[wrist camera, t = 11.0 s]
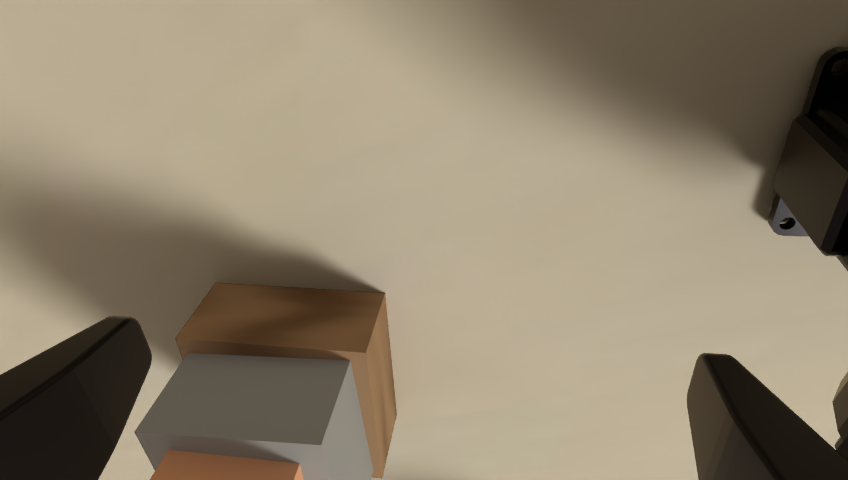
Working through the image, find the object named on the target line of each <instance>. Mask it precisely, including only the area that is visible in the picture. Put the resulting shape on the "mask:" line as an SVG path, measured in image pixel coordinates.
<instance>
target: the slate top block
mask: <svg viewBox="0 0 848 480" xmlns="http://www.w3.org/2000/svg"><path fill="white" fill-rule="evenodd" d="M135 434H136V436H137V438H138V440H139V441H140V443H141V445H142V447H143V449H144V451H145V453H146V455H147V456H148V458H149V460H150V462H151V464H152V466H153V468H154V469H155V470H156V469H157V467H158V465H159V464H160V462H161V460H162V459H163V457H164V455H165V454H166V452H167V450H177V451H187V452H196V453H205V454H215V455H224V456H233V457H243V458H252V459H261V460H271V461H280V462H289V463H299V464H300V467H301V471H302V475H303V479H304V480H371V478H372V474H373V466H372V462H371V457H370V452H369V447H368V442H367V438H366V433H365V428H364V423H363V418H362V414H361V409H360V404H359V399H358V394H357V390H356V385H355V380H354V375H353V370H352V366H351V361H350V360H328V359H306V358H284V357H263V356H241V355H219V354H197V353H188V354H187V355H186V357H185V358H184V360H183V361H182V363H181V364H180V365H179V367H178V368H177V370H176V371H175V373H174V374H173V376H172V377H171V379H170V380H169V382H168V383H167V385H166V386H165V388H164V389H163V391H162V392H161V394H160V395H159V396H158V398H157V399H156V401H155V402H154V404H153V405H152V407H151V408H150V410H149V411H148V413H147V414H146V416H145V417H144V419H143V420H142V422H141V423H140V425H139V426H138V427H137V429H136V430H135Z"/></svg>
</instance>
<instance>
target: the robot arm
mask: <svg viewBox="0 0 848 480" xmlns="http://www.w3.org/2000/svg"><path fill="white" fill-rule="evenodd" d="M841 59H845V64H844V65H843V67H842V68H841V69H839V70H838V71H834V72H832V66H833V65H834V63H835V62H837V61H838V60H841ZM773 188H774V190H775V191H776V195H775V198H774V201H773V204H772V208H771V211H770V214H769V217H768V223H769V225H770V226H771V228H772V229H773V231H774V232H775V233H777V234H778V235H783V236H809V237H810V238H811V239H812V241H813V242H814V243H815V245H816V246H817V247H818V249H819V250H820V251H821V252H822V253H823V254H824V255H825V256H836V257H837V258H838V259H839V260H840V262H841V263H842V264H843V266H844V267H845V268H846V269H847V271H848V47H837V48H833V49H831V50H829V51H827V52H826V53H825V54H824V55H823V56H822V57H821V58H820V60H819V62H818V64H817V67H816V70H815V73H814V76H813V79H812V82H811V85H810V89H809V92H808V95H807V98H806V101H805V104H804V107H803V110H802V113H801V114H800V115H799V116H797V117H796V118H795V119H794V120H793V121H792V124H791V128H790V131H789V134H788V137H787V140H786V144H785V147H784V150H783V153H782V156H781V160H780V163H779V166H778V169H777V172H776V176H775V179H774V182H773ZM788 217H791V219H790V221H788V222H787V223H784V224H780V222H781V221H782V220H783V219H785V218H788ZM151 360H152V355H151V350H150V348H149V346H148V343H147V341H146V338H145V336H144V334H143V331H142V329H141V326H140V324H139V322H138V321H137V320H136V319H135V318H132V317H122V316H111V317H107V318H105V319H103V320H102V321H100V322H98V323H96V324H94V325H92V326H90V327H89V328H87V329H85V330H83V331H81V332H79V333H77V334H76V335H74V336H72V337H70V338H68V339H66V340H64V341H63V342H61V343H59V344H57V345H55V346H53V347H51V348H49V349H48V350H46V351H44V352H42V353H40V354H38V355H36V356H35V357H33V358H31V359H29V360H27V361H25V362H23V363H22V364H20V365H18V366H16V367H14V368H12V369H10V370H8V371H7V372H5V373H3V374H1V375H0V480H98V479H99V477H100V475H101V473H102V472H103V470H104V468H105V466H106V464H107V462H108V461H109V459H110V457H111V455H112V453H113V451H114V449H115V447H116V445H117V443H118V440H119V438H120V436H121V434H122V432H123V429H124V427H125V425H126V422H127V420H128V418H129V415H130V413H131V411H132V408H133V406H134V404H135V401H136V399H137V397H138V394H139V392H140V390H141V387H142V385H143V383H144V380H145V378H146V375H147V373H148V371H149V368H150V365H151ZM833 407H834V412H835V418H836V423H837V429H838V432H839V434H840V436H841V437H840V438H839V439H838V441H837V442H836V444H835V448H836V450H835V449H834V448H833V447H832V446H831V445H829V444H828V443H827V442H826V441H825V440H824V439H823V438H822V437H821V436H820V435H818V434H817V433H816V432H815V431H814V430H813V429H812V428H811V427H810V426H809V425H807V424H806V423H805V422H804V421H803V420H802V419H801V418H800V417H799V416H798V415H796V414H795V413H794V412H793V411H792V410H791V409H790V408H789V407H788V406H787V405H785V404H784V403H783V402H782V401H781V400H780V399H779V398H778V397H777V396H776V395H774V394H773V393H772V392H771V391H770V390H769V389H768V388H767V387H766V386H765V385H764V384H762V383H761V382H760V381H759V380H758V379H757V378H756V377H755V376H754V375H753V374H751V373H750V372H749V371H748V370H747V369H746V368H745V367H744V366H743V365H742V364H740V363H739V362H738V361H737V360H736V359H735V358H734V357H732V356H730V355H727V354H713V353H703V354H701V355H700V356H699V357H698V359H697V361H696V364H695V368H694V371H693V375H692V378H691V382H690V385H689V389H688V394H687V408H688V414H689V421H690V427H691V434H692V440H693V446H694V453H695V459H696V466H697V472H698V478H699V480H848V372H847V374H846V375H845V377H844V378H843V379H842V381H841V383H840V385H839V387H838V390H837V392H836V395H835V397H834V400H833Z"/></svg>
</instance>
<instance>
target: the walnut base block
mask: <svg viewBox="0 0 848 480" xmlns="http://www.w3.org/2000/svg"><path fill="white" fill-rule="evenodd" d="M175 339H176V342H177V344H178V347H179V350H180V353H181V355H182V358H183V360H184V358H185V357H186V355H187V354H188V353H197V354H219V355H241V356H263V357H284V358H306V359H328V360H350V361H351V366H352V370H353V375H354V380H355V385H356V390H357V394H358V399H359V404H360V409H361V414H362V418H363V423H364V428H365V433H366V438H367V442H368V447H369V452H370V457H371V462H372V466H373V474H372V477H374V478H382V476H383V472H384V468H385V463H386V459H387V455H388V450H389V446H390V442H391V437H392V433H393V429H394V424H395V420H396V415H397V412H396V402H395V391H394V381H393V371H392V360H391V350H390V340H389V329H388V319H387V308H386V298H385V293H375V292H358V291H342V290H325V289H309V288H293V287H276V286H260V285H244V284H227V283H215V284H214V286H213V287H212V288H211V290H210V291H209V293H208V294H207V295H206V297H205V298H204V299H203V301H202V302H201V304H200V305H199V306H198V308H197V309H196V310H195V312H194V313H193V315H192V316H191V317H190V319H189V320H188V321H187V323H186V324H185V326H184V327H183V328H182V330H181V331H180V333H179V334H178V335H177V337H176V338H175Z"/></svg>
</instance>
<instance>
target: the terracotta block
mask: <svg viewBox="0 0 848 480" xmlns="http://www.w3.org/2000/svg"><path fill="white" fill-rule="evenodd" d="M150 480H304V479H303V475H302V471H301V467H300V464H299V463H289V462H280V461H271V460H261V459H252V458H243V457H233V456H224V455H215V454H205V453H196V452H187V451H177V450H167V452H166V454H165V455H164V457H163V459H162V460H161V462H160V464H159V465H158V467H157V469H156V470H155V472H154V474H153V475H152V477H151V479H150Z"/></svg>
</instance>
